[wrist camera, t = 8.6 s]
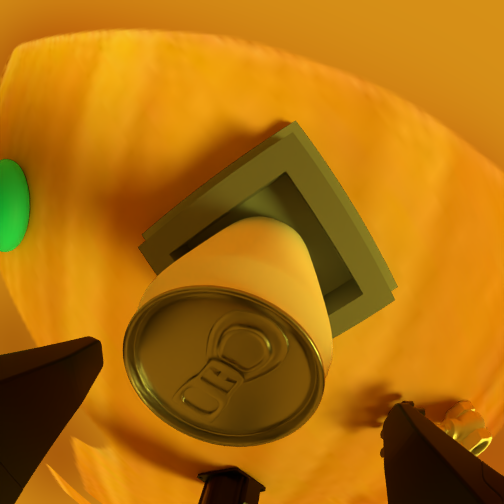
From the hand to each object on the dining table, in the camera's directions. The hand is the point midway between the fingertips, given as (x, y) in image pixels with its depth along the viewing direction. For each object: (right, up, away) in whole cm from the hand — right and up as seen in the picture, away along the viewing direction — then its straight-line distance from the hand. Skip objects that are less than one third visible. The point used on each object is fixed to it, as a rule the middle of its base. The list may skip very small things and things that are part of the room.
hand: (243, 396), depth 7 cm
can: (+1, +3, +12) cm, 12 cm away
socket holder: (+1, +4, +12) cm, 13 cm away
